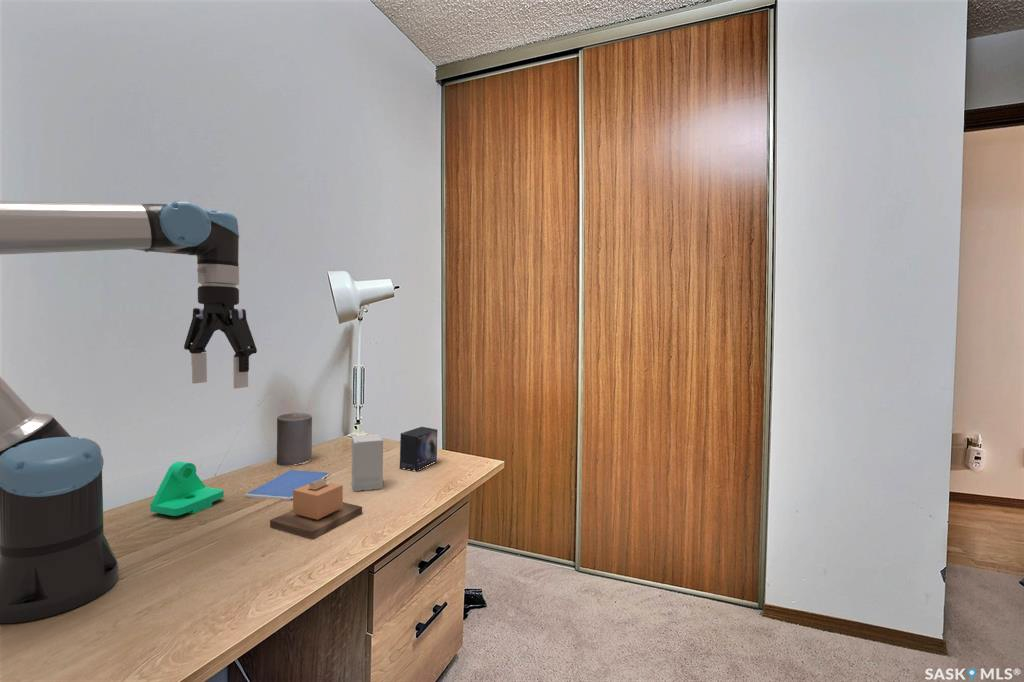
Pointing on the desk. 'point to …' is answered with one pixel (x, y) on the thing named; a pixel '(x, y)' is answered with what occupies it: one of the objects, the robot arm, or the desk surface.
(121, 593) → the desk surface
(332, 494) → the tan square frame
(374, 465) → the supplement box
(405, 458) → the small box
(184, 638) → the desk surface
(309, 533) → the base
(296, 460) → the pillar candle
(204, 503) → the camera mount
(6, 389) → the robot arm
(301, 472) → the blue felt tray
